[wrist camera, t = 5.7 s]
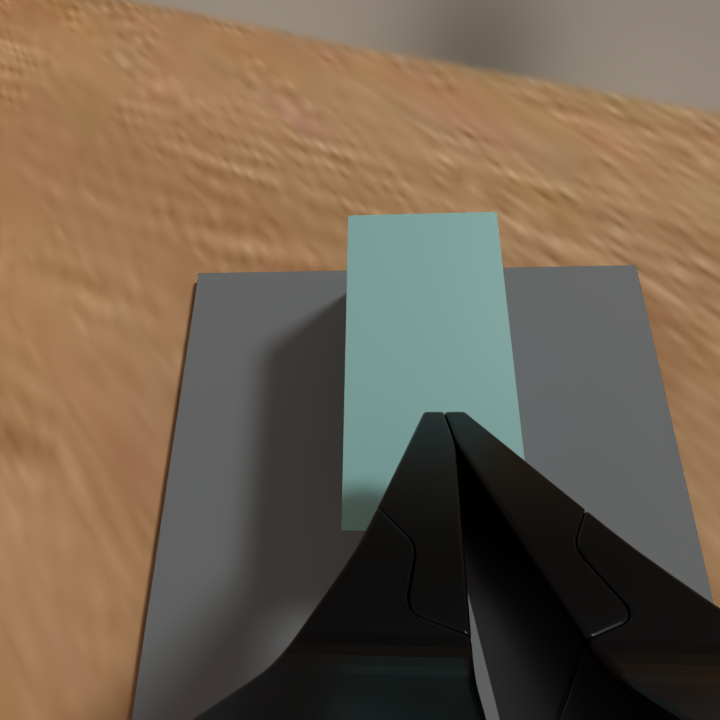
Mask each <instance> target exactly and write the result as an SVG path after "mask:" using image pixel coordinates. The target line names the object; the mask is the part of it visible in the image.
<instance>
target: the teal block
mask: <svg viewBox="0 0 720 720" xmlns="http://www.w3.org/2000/svg"><path fill="white" fill-rule="evenodd" d="M425 412H443V413H444V414H445V413H446V412H465V413H466V414H468V415H469V416H470V417H471V418H473V419H474V420H475V421H476V422H478V423H479V424H480V425H481V426H483V427H484V428H485V429H486V430H488V431H489V432H490V433H491V434H492V435H494V436H495V437H496V438H497V439H499V440H500V441H501V442H502V443H504V444H505V445H506V446H507V447H509V448H510V449H511V450H512V451H513V452H515V453H516V454H517V455H518V456H520V457H521V458H522V459H523V460H525V459H524V450H523V441H522V433H521V424H520V415H519V406H518V397H517V388H516V380H515V371H514V362H513V353H512V344H511V335H510V327H509V318H508V309H507V300H506V291H505V282H504V274H503V265H502V256H501V247H500V238H499V229H498V221H497V212H472V213H432V214H393V215H353V216H348V254H347V299H346V345H345V390H344V436H343V481H342V527H341V530H358V531H366V529H367V527H368V525H369V523H370V521H371V519H372V517H373V515H374V513H375V511H376V510H377V508H378V505H379V503H380V501H381V499H382V497H383V495H384V493H385V491H386V489H387V487H388V485H389V483H390V481H391V479H392V477H393V475H394V473H395V471H396V468H397V466H398V464H399V462H400V460H401V458H402V456H403V454H404V452H405V450H406V448H407V446H408V444H409V442H410V440H411V438H412V436H413V434H414V432H415V429H416V427H417V425H418V423H419V421H420V419H421V417H422V415H423V413H425Z"/></svg>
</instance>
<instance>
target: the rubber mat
mask: <svg viewBox="0 0 720 720" xmlns="http://www.w3.org/2000/svg"><path fill="white" fill-rule="evenodd" d="M503 274H504V282H505V291H506V300H507V309H508V318H509V327H510V335H511V344H512V353H513V362H514V371H515V380H516V388H517V397H518V406H519V415H520V424H521V433H522V441H523V450H524V459H525V461H526V462H527V463H528V464H530V465H531V466H532V467H533V468H535V469H536V470H537V471H538V472H539V473H541V474H542V475H543V476H544V477H546V478H547V479H548V480H549V481H551V482H552V483H553V484H554V485H556V486H557V487H558V488H559V489H560V490H562V491H563V492H564V493H565V494H567V495H568V496H569V497H570V498H572V499H573V500H574V501H575V502H577V503H578V504H579V505H580V506H582V507H583V508H584V509H585V512H589V513H590V514H592V515H593V516H594V517H595V518H597V519H598V520H599V521H600V522H602V523H603V524H604V525H605V526H607V527H608V528H609V529H610V530H612V531H613V532H614V533H616V534H617V535H618V536H619V537H621V538H622V539H623V540H625V541H626V542H627V543H628V544H630V545H631V546H632V547H634V548H635V549H636V550H638V551H639V552H640V553H642V554H643V555H645V556H646V557H647V558H649V559H650V560H652V561H653V562H654V563H656V564H657V565H659V566H660V567H661V568H663V569H664V570H666V571H667V572H668V573H670V574H671V575H673V576H674V577H675V578H677V579H678V580H680V581H681V582H683V583H684V584H686V585H687V586H688V587H690V588H691V589H693V590H694V591H696V592H697V593H698V594H700V595H701V596H703V597H704V598H706V599H707V600H709V601H710V602H711V603H713V599H712V595H711V591H710V586H709V582H708V577H707V573H706V569H705V564H704V560H703V556H702V551H701V547H700V543H699V538H698V534H697V529H696V525H695V521H694V516H693V512H692V508H691V503H690V499H689V495H688V490H687V486H686V482H685V477H684V473H683V468H682V464H681V460H680V455H679V451H678V447H677V442H676V438H675V434H674V429H673V425H672V420H671V416H670V412H669V407H668V403H667V399H666V394H665V390H664V386H663V381H662V377H661V372H660V368H659V364H658V359H657V355H656V351H655V346H654V342H653V338H652V333H651V329H650V325H649V320H648V316H647V311H646V307H645V303H644V298H643V294H642V290H641V285H640V281H639V277H638V272H637V268H636V265H628V266H573V267H519V268H503ZM346 299H347V271H302V272H248V273H199V274H198V281H197V287H196V294H195V301H194V307H193V314H192V321H191V327H190V334H189V341H188V347H187V354H186V361H185V367H184V374H183V381H182V387H181V394H180V400H179V407H178V414H177V420H176V427H175V434H174V440H173V447H172V454H171V460H170V467H169V474H168V480H167V487H166V494H165V500H164V507H163V514H162V520H161V527H160V534H159V540H158V547H157V553H156V560H155V567H154V573H153V580H152V587H151V593H150V600H149V607H148V613H147V620H146V627H145V633H144V640H143V647H142V653H141V660H140V667H139V673H138V680H137V687H136V693H135V700H134V706H133V713H132V720H191V719H192V718H194V717H196V716H197V715H199V714H200V713H202V712H203V711H205V710H206V709H208V708H209V707H211V706H212V705H214V704H215V703H217V702H218V701H220V700H221V699H223V698H224V697H226V696H227V695H229V694H230V693H232V692H233V691H235V690H237V689H238V688H240V687H241V686H243V685H244V684H246V683H247V682H249V681H250V680H252V679H253V678H255V677H256V676H258V675H259V674H260V673H262V672H263V671H264V670H265V669H267V668H268V667H269V666H270V665H271V664H272V663H273V662H274V661H275V660H276V659H277V658H278V657H279V656H280V655H281V654H282V653H283V651H284V650H285V649H286V648H287V647H288V645H289V644H290V643H291V641H292V640H293V639H294V637H295V636H296V635H297V633H298V632H299V631H300V629H301V628H302V626H303V625H304V623H305V622H306V620H307V619H308V618H309V616H310V615H311V613H312V612H313V610H314V609H315V608H316V606H317V605H318V603H319V602H320V600H321V599H322V598H323V596H324V595H325V593H326V592H327V590H328V589H329V588H330V586H331V585H332V583H333V582H334V580H335V579H336V578H337V576H338V575H339V573H340V572H341V570H342V569H343V567H344V566H345V564H346V563H347V561H348V560H349V558H350V557H351V555H352V553H353V552H354V550H355V549H356V547H357V546H358V544H359V542H360V540H361V538H362V536H363V535H364V533H365V531H358V530H341V527H342V481H343V436H344V390H345V345H346ZM468 603H469V615H470V628H471V643H472V653H473V663H474V670H475V677H476V683H477V687H478V691H479V695H480V699H481V702H482V706H483V709H484V713H485V717H486V720H500V719H499V715H498V711H497V707H496V703H495V699H494V695H493V691H492V687H491V683H490V679H489V675H488V671H487V667H486V663H485V659H484V655H483V651H482V647H481V643H480V639H479V635H478V631H477V627H476V623H475V619H474V615H473V611H472V607H471V603H470V599H469V595H468Z"/></svg>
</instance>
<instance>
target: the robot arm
mask: <svg viewBox="0 0 720 720" xmlns="http://www.w3.org/2000/svg"><path fill="white" fill-rule="evenodd" d="M468 595H469V599H470V603H471V607H472V611H473V615H474V619H475V623H476V627H477V631H478V635H479V639H480V643H481V647H482V651H483V655H484V659H485V663H486V667H487V671H488V675H489V679H490V683H491V687H492V691H493V695H494V699H495V703H496V707H497V711H498V715H499V719H500V720H720V608H719V607H717V606H716V605H714V604H713V603H711V602H710V601H709V600H707V599H706V598H704V597H703V596H701V595H700V594H698V593H697V592H696V591H694V590H693V589H691V588H690V587H688V586H687V585H686V584H684V583H683V582H681V581H680V580H678V579H677V578H675V577H674V576H673V575H671V574H670V573H668V572H667V571H666V570H664V569H663V568H661V567H660V566H659V565H657V564H656V563H654V562H653V561H652V560H650V559H649V558H647V557H646V556H645V555H643V554H642V553H640V552H639V551H638V550H636V549H635V548H634V547H632V546H631V545H630V544H628V543H627V542H626V541H625V540H623V539H622V538H621V537H619V536H618V535H617V534H616V533H614V532H613V531H612V530H610V529H609V528H608V527H607V526H605V525H604V524H603V523H602V522H600V521H599V520H598V519H597V518H595V517H594V516H593V515H592V514H590V513H589V512H585V509H584V508H583V507H582V506H580V505H579V504H578V503H577V502H575V501H574V500H573V499H572V498H570V497H569V496H568V495H567V494H565V493H564V492H563V491H562V490H560V489H559V488H558V487H557V486H556V485H554V484H553V483H552V482H551V481H549V480H548V479H547V478H546V477H544V476H543V475H542V474H541V473H539V472H538V471H537V470H536V469H535V468H533V467H532V466H531V465H530V464H528V463H527V462H526V461H525V460H523V459H522V458H521V457H520V456H518V455H517V454H516V453H515V452H513V451H512V450H511V449H510V448H509V447H507V446H506V445H505V444H504V443H502V442H501V441H500V440H499V439H497V438H496V437H495V436H494V435H492V434H491V433H490V432H489V431H488V430H486V429H485V428H484V427H483V426H481V425H480V424H479V423H478V422H476V421H475V420H474V419H473V418H471V417H470V416H469V415H468V414H466V413H465V412H446V413H445V414H444V413H443V412H425V413H423V415H422V417H421V419H420V421H419V423H418V425H417V427H416V429H415V432H414V434H413V436H412V438H411V440H410V442H409V444H408V446H407V448H406V450H405V452H404V454H403V456H402V458H401V460H400V462H399V464H398V466H397V468H396V471H395V473H394V475H393V477H392V479H391V481H390V483H389V485H388V487H387V489H386V491H385V493H384V495H383V497H382V499H381V501H380V503H379V505H378V508H377V510H376V511H375V513H374V515H373V517H372V519H371V521H370V523H369V525H368V527H367V529H366V531H365V533H364V535H363V536H362V538H361V540H360V542H359V544H358V546H357V547H356V549H355V550H354V552H353V553H352V555H351V557H350V558H349V560H348V561H347V563H346V564H345V566H344V567H343V569H342V570H341V572H340V573H339V575H338V576H337V578H336V579H335V580H334V582H333V583H332V585H331V586H330V588H329V589H328V590H327V592H326V593H325V595H324V596H323V598H322V599H321V600H320V602H319V603H318V605H317V606H316V608H315V609H314V610H313V612H312V613H311V615H310V616H309V618H308V619H307V620H306V622H305V623H304V625H303V626H302V628H301V629H300V631H299V632H298V633H297V635H296V636H295V637H294V639H293V640H292V641H291V643H290V644H289V645H288V647H287V648H286V649H285V650H284V651H283V653H282V654H281V655H280V656H279V657H278V658H277V659H276V660H275V661H274V662H273V663H272V664H271V665H270V666H269V667H268V668H267V669H265V670H264V671H263V672H262V673H260V674H259V675H258V676H256V677H255V678H253V679H252V680H250V681H249V682H247V683H246V684H244V685H243V686H241V687H240V688H238V689H237V690H235V691H233V692H232V693H230V694H229V695H227V696H226V697H224V698H223V699H221V700H220V701H218V702H217V703H215V704H214V705H212V706H211V707H209V708H208V709H206V710H205V711H203V712H202V713H200V714H199V715H197V716H196V717H194V718H192V719H191V720H486V717H485V713H484V709H483V706H482V702H481V699H480V695H479V691H478V687H477V683H476V677H475V670H474V663H473V653H472V643H471V628H470V615H469V603H468Z"/></svg>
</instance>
